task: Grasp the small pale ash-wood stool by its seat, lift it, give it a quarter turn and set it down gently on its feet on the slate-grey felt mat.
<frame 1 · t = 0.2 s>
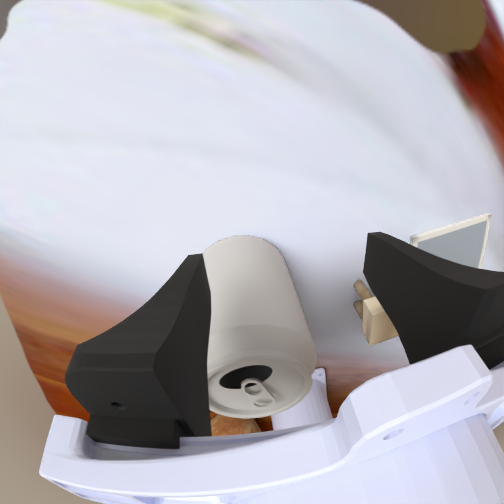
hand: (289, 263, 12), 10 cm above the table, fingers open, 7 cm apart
bread roll: (228, 423, 38), on the table
can: (240, 269, 24), on the table
mat: (447, 270, 27), on the table
stool: (374, 289, 27), on the table
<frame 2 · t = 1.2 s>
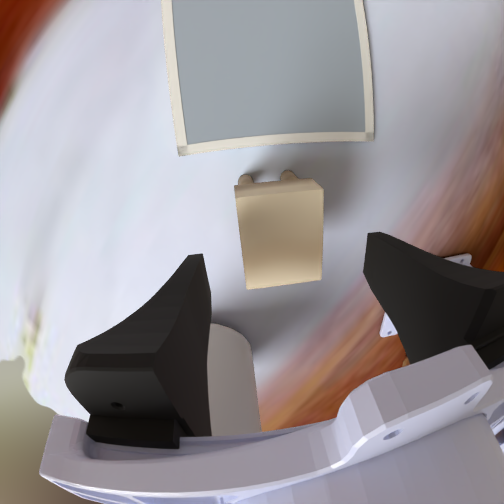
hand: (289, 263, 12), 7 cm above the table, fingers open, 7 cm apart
can: (208, 345, 24), on the table
mat: (272, 47, 13), on the table
stool: (268, 206, 18), on the table
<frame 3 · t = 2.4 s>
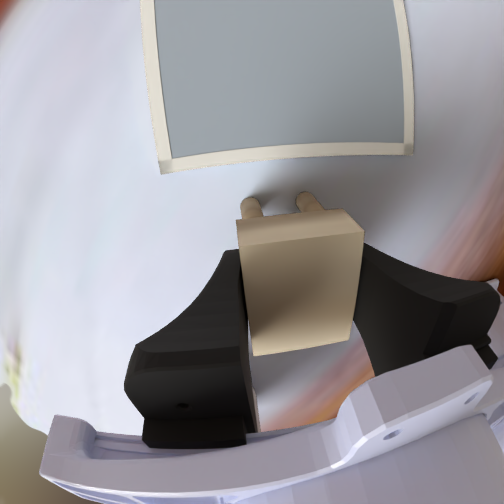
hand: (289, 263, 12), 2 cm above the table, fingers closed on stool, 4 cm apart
mat: (286, 28, 9), on the table
stool: (279, 237, 14), on the table, touching gripper
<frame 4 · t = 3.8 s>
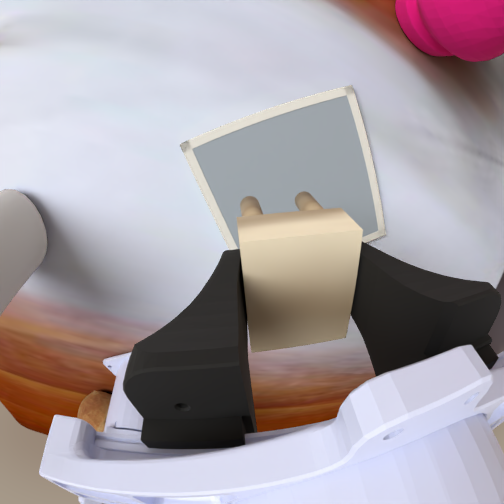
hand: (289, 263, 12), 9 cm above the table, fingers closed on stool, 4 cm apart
pepper mill: (424, 22, 13), on the table, touching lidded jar
bread roll: (118, 411, 33), on the table
can: (21, 225, 19), on the table
mat: (296, 190, 20), on the table
stool: (278, 236, 14), point 6 cm above the table, touching gripper
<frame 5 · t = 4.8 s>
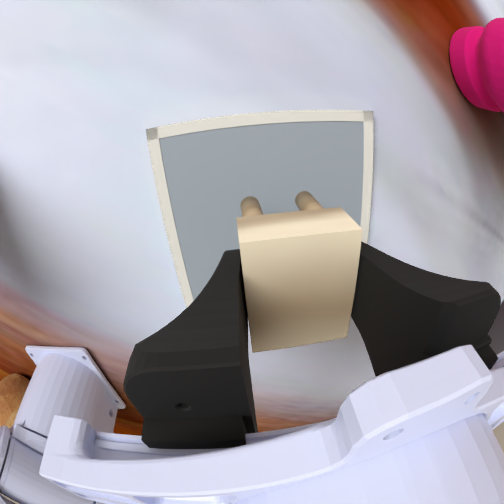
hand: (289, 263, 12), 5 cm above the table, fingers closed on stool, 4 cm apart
pepper mill: (474, 67, 12), on the table, touching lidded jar
bread roll: (38, 397, 26), on the table
mat: (271, 218, 16), on the table
stool: (279, 236, 14), point 2 cm above the table, touching gripper
when the fingers open (3 cm above the table, at t = 5.6 s): stool stays where it is, resting on mat.
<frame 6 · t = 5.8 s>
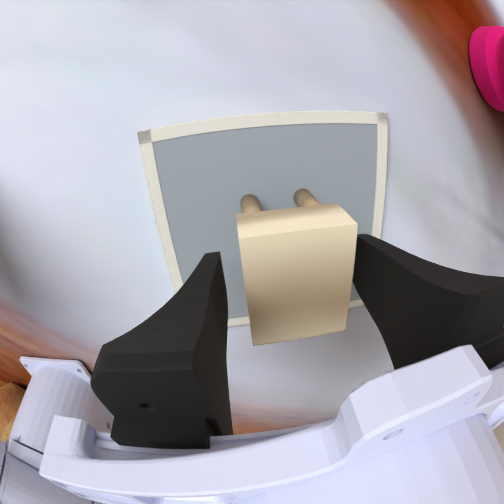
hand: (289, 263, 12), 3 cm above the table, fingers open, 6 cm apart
pepper mill: (492, 68, 10), on the table, touching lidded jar
bread roll: (34, 406, 24), on the table
mat: (276, 229, 15), on the table
stool: (278, 232, 15), resting on mat
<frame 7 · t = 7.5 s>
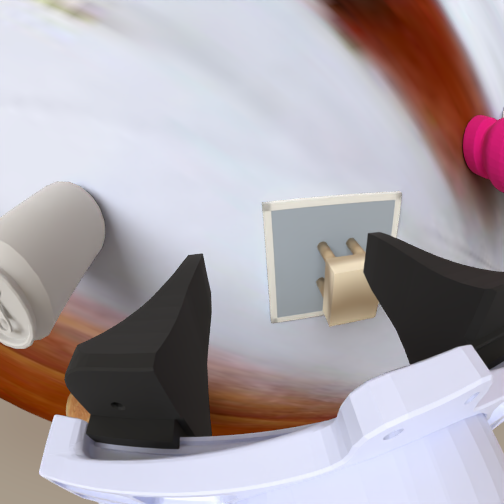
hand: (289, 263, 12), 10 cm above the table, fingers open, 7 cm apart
pepper mill: (479, 144, 20), on the table, touching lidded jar
bread roll: (103, 398, 34), on the table
can: (72, 219, 21), on the table
mat: (334, 260, 25), on the table
stool: (335, 262, 24), resting on mat
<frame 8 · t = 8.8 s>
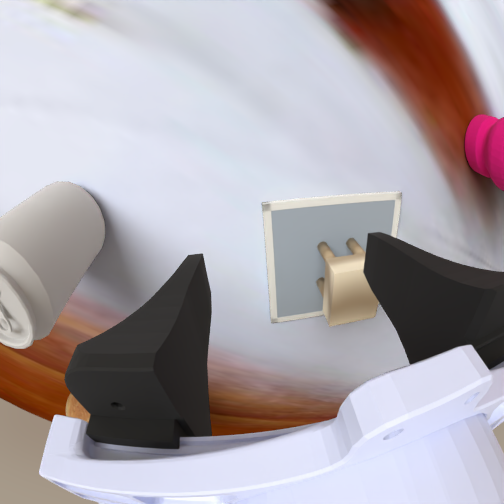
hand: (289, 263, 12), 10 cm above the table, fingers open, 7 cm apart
pepper mill: (480, 143, 20), on the table, touching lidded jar
bread roll: (103, 399, 34), on the table
can: (72, 219, 21), on the table
mat: (334, 260, 25), on the table
stool: (335, 262, 24), resting on mat
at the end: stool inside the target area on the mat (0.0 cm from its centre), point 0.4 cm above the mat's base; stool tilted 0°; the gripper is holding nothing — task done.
